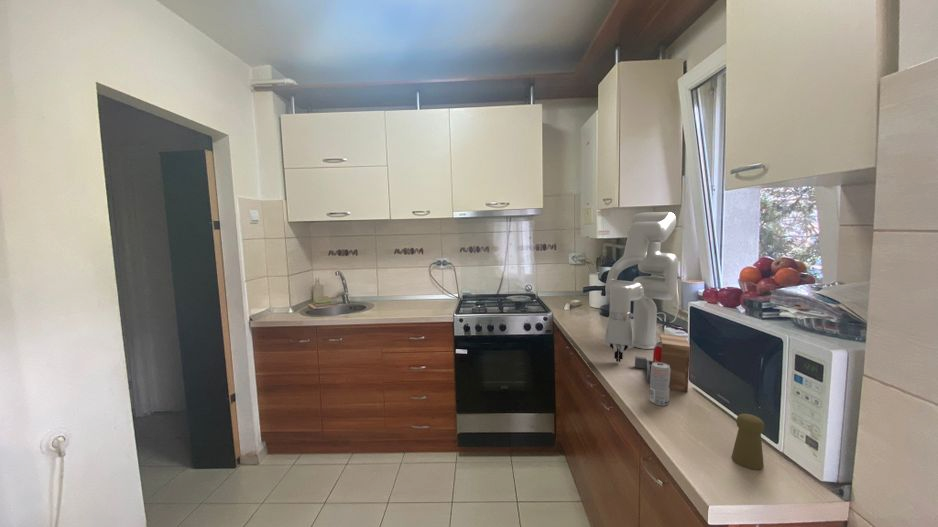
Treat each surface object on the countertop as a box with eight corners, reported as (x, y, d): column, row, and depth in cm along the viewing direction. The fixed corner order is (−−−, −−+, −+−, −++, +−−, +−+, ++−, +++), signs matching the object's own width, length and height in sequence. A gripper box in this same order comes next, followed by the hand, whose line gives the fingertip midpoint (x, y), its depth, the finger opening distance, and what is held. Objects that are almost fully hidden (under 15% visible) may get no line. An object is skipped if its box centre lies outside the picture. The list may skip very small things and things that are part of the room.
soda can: (655, 380, 128) (657, 347, 126) (649, 372, 134) (651, 340, 133) (677, 382, 126) (679, 348, 125) (670, 373, 133) (672, 341, 132)
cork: (725, 454, 88) (728, 410, 87) (748, 452, 89) (751, 409, 88) (746, 470, 82) (749, 424, 81) (770, 469, 83) (774, 423, 82)
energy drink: (667, 399, 116) (668, 362, 115) (670, 407, 111) (672, 369, 110) (648, 396, 118) (650, 360, 116) (650, 404, 113) (652, 367, 111)
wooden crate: (658, 374, 135) (660, 333, 133) (683, 378, 131) (685, 336, 130) (660, 387, 124) (662, 343, 122) (687, 392, 121) (690, 346, 119)
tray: (634, 365, 143) (635, 356, 142) (677, 371, 137) (677, 361, 136) (635, 380, 129) (635, 370, 129) (682, 387, 123) (682, 376, 123)
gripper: (640, 314, 143) (638, 359, 146) (600, 311, 149) (599, 354, 152) (641, 319, 137) (639, 366, 139) (598, 316, 143) (597, 361, 145)
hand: (618, 360), depth 145 cm, fingers closed
